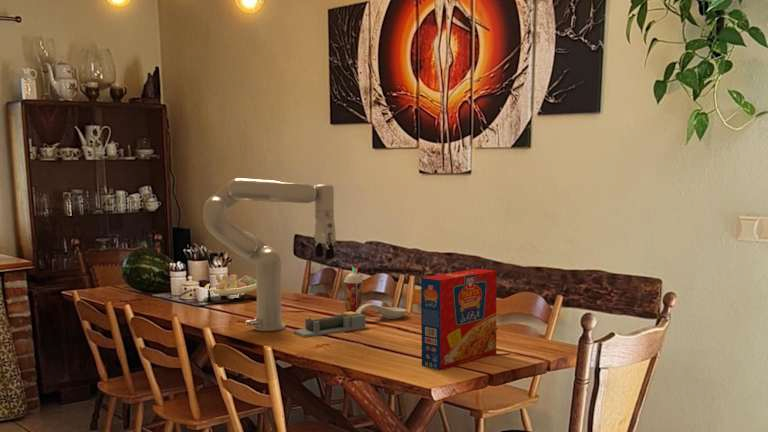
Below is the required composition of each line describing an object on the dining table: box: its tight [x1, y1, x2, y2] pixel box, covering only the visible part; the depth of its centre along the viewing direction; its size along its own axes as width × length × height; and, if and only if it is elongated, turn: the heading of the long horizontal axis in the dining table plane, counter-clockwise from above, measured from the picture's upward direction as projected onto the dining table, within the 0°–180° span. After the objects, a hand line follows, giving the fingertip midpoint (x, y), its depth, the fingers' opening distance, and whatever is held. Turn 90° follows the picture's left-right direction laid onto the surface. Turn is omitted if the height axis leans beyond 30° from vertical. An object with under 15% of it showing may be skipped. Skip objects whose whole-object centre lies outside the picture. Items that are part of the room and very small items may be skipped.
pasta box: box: [420, 268, 497, 371], centre depth 221 cm, size 28×8×28 cm, turn 134°
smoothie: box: [343, 266, 363, 312], centre depth 301 cm, size 8×8×20 cm
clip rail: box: [293, 312, 367, 338], centre depth 265 cm, size 27×9×5 cm, turn 123°
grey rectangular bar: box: [307, 311, 358, 331], centre depth 266 cm, size 20×5×5 cm, turn 123°
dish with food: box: [203, 273, 256, 297], centre depth 336 cm, size 28×28×14 cm
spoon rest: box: [356, 303, 408, 320], centre depth 285 cm, size 24×12×7 cm, turn 121°
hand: (324, 257), depth 274 cm, fingers open, 9 cm apart
